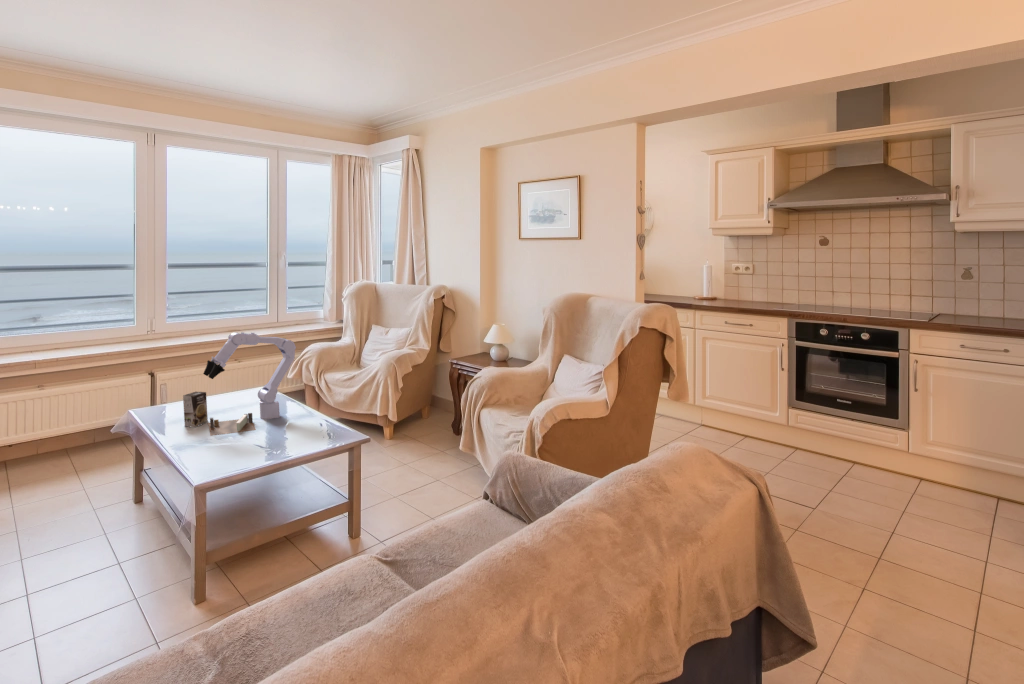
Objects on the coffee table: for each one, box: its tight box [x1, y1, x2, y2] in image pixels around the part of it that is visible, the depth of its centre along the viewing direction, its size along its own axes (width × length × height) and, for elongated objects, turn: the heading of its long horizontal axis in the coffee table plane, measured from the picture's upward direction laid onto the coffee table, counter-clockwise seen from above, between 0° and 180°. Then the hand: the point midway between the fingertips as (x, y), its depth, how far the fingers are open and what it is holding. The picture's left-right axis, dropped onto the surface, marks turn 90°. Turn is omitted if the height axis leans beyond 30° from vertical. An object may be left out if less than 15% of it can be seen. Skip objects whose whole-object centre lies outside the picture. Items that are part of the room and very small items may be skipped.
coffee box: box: [182, 391, 209, 428], centre depth 283 cm, size 9×6×16 cm
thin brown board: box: [207, 412, 257, 437], centre depth 280 cm, size 20×22×6 cm
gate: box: [236, 413, 248, 431], centre depth 280 cm, size 15×2×4 cm, turn 11°
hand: (207, 376), depth 274 cm, fingers open, 7 cm apart
